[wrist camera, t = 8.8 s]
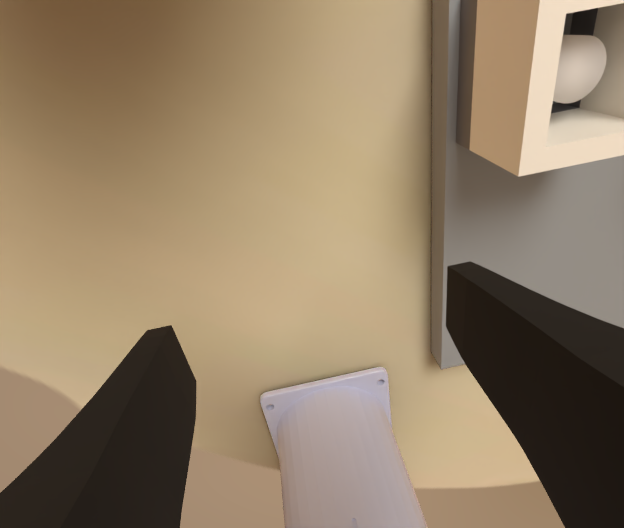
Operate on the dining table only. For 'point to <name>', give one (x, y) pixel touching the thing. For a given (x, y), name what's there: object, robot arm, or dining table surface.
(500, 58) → the sleeve
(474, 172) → the pin board
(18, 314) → the dining table surface
